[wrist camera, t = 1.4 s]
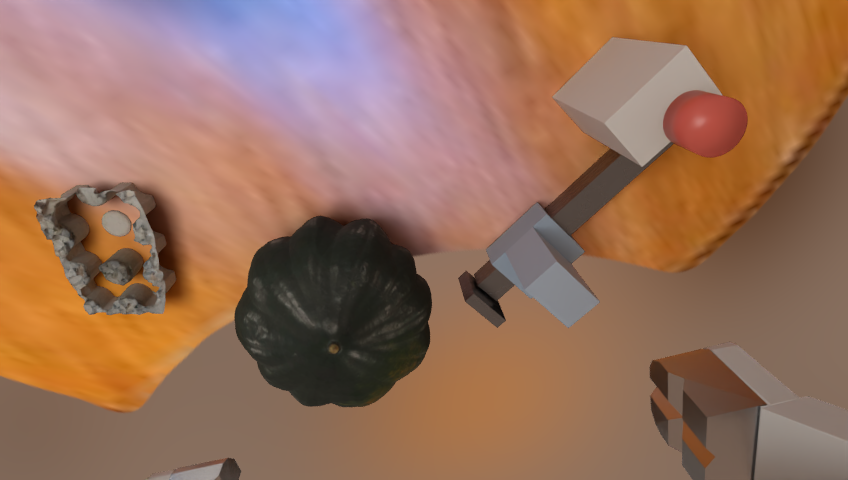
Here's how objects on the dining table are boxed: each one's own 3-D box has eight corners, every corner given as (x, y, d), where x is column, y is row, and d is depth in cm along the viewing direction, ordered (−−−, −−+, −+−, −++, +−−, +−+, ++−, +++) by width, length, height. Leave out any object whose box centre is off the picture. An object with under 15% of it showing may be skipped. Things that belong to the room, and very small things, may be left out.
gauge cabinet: (612, 37, 37) (686, 45, 28) (643, 77, 39) (724, 97, 30) (551, 97, 39) (604, 123, 30) (584, 133, 40) (644, 169, 31)
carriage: (536, 201, 42) (573, 246, 34) (572, 237, 44) (616, 288, 36) (485, 249, 44) (509, 303, 35) (522, 282, 45) (553, 341, 37)
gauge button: (698, 77, 26) (727, 84, 24) (726, 117, 27) (758, 126, 25) (652, 119, 27) (677, 129, 25) (682, 156, 28) (708, 168, 26)
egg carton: (60, 179, 39) (26, 196, 35) (160, 179, 39) (137, 196, 36) (94, 297, 43) (67, 324, 39) (183, 295, 44) (165, 321, 40)
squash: (314, 427, 44) (401, 474, 31) (177, 319, 39) (216, 324, 27) (403, 303, 50) (505, 301, 38) (295, 197, 45) (371, 154, 33)
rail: (669, 82, 39) (698, 89, 36) (696, 117, 40) (727, 127, 37) (458, 278, 45) (465, 301, 41) (488, 302, 46) (497, 327, 43)
